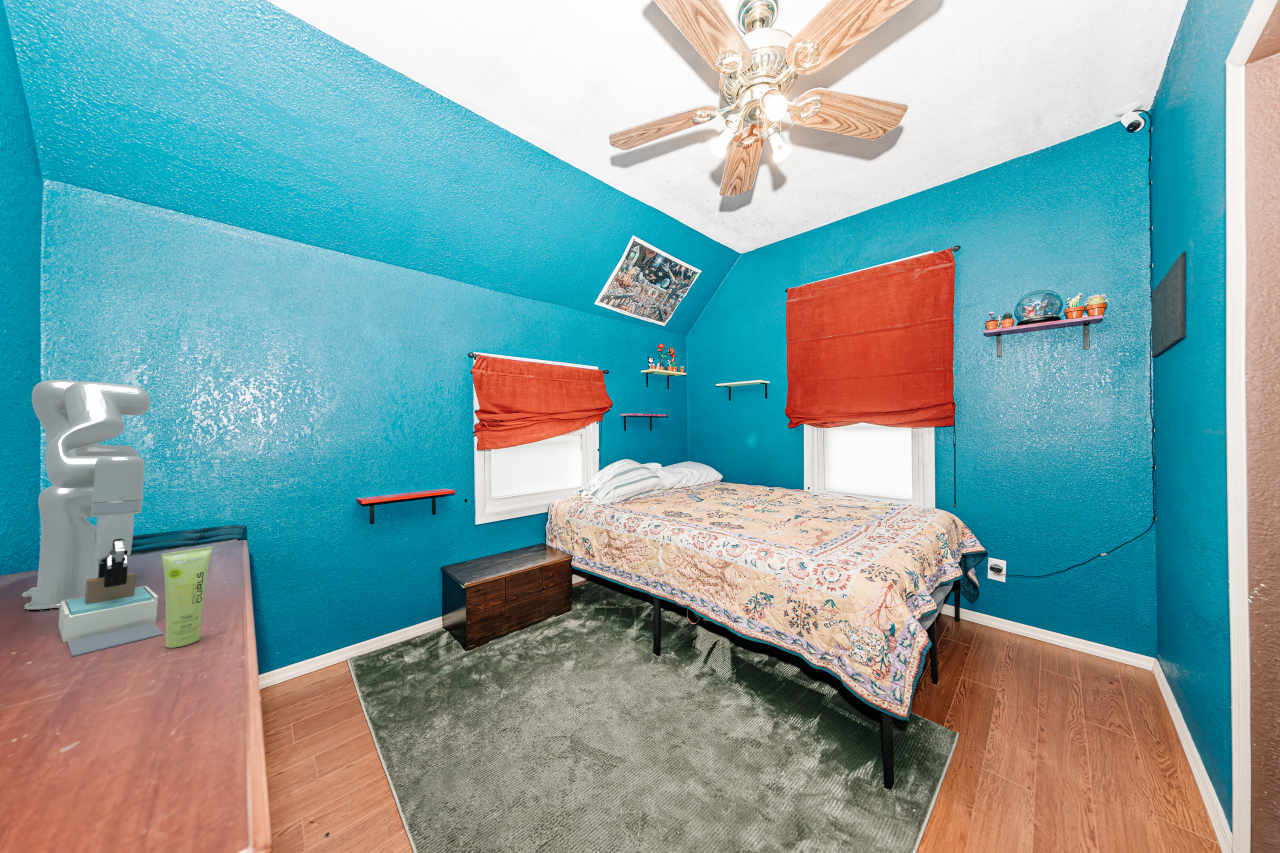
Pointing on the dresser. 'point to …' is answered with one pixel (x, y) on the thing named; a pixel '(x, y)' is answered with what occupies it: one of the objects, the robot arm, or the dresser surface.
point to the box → (106, 618)
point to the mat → (113, 639)
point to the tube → (185, 594)
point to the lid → (107, 596)
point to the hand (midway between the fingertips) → (112, 582)
